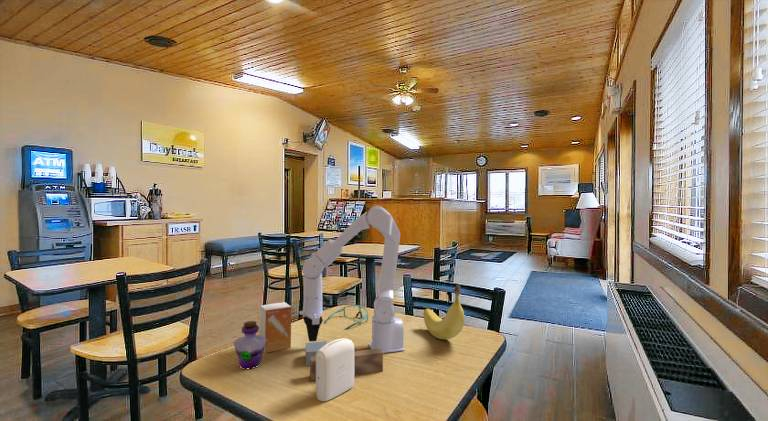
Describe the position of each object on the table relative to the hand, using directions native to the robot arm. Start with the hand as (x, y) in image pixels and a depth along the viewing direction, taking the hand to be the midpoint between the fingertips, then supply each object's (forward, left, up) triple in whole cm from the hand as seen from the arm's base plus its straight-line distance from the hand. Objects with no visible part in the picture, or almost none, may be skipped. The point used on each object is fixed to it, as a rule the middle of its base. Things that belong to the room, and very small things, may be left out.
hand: (312, 340), depth 116 cm
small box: (+11, -4, -3) cm, 12 cm away
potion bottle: (+18, +7, -3) cm, 19 cm away
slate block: (0, +9, -3) cm, 9 cm away
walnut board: (-7, +20, -2) cm, 21 cm away
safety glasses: (-16, -22, -3) cm, 27 cm away
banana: (-42, +3, -3) cm, 43 cm away
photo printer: (-2, +28, -3) cm, 28 cm away
